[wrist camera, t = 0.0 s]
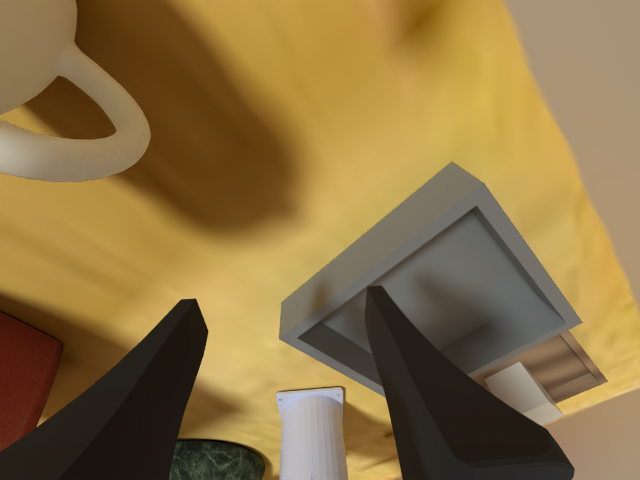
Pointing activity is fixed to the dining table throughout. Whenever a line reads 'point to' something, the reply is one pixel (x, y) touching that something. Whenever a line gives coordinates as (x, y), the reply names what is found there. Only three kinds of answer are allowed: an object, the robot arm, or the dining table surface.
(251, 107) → the dining table surface
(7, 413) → the plant pot
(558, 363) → the tray
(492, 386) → the block
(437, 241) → the bin
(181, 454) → the goblet
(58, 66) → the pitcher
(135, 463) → the robot arm
